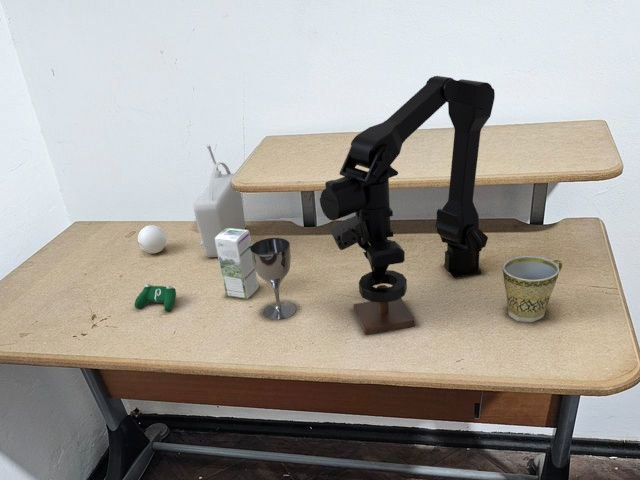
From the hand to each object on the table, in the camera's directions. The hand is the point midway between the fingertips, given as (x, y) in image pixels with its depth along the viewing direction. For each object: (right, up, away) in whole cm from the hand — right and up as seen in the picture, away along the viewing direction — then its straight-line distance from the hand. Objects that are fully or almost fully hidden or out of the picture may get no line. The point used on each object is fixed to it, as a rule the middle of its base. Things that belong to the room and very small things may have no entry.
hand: (377, 277), depth 126 cm
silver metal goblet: (-20, -6, +8) cm, 22 cm away
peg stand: (+1, -8, +1) cm, 8 cm away
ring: (+1, -3, -2) cm, 4 cm away
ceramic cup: (+30, -7, -3) cm, 31 cm away
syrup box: (-29, -2, +16) cm, 33 cm away
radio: (-36, +13, +40) cm, 55 cm away
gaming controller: (-47, -5, +16) cm, 50 cm away
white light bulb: (-55, +11, +41) cm, 69 cm away
